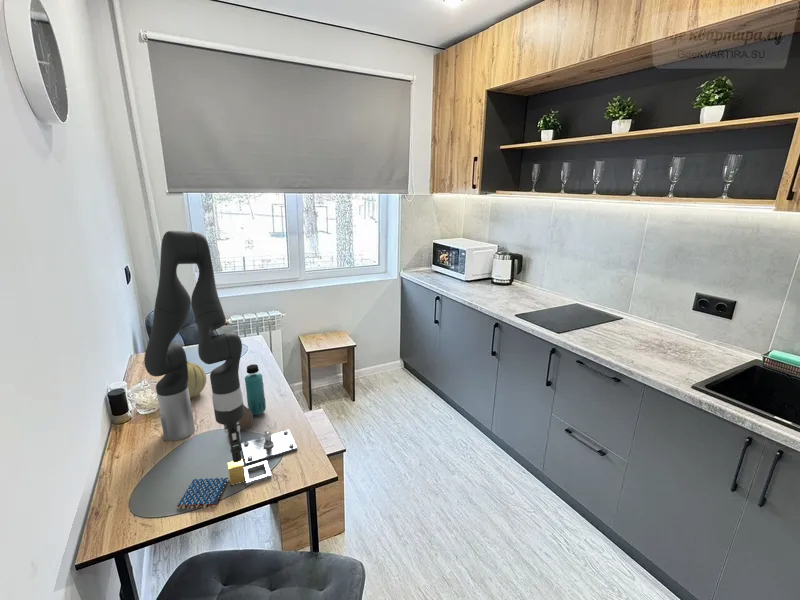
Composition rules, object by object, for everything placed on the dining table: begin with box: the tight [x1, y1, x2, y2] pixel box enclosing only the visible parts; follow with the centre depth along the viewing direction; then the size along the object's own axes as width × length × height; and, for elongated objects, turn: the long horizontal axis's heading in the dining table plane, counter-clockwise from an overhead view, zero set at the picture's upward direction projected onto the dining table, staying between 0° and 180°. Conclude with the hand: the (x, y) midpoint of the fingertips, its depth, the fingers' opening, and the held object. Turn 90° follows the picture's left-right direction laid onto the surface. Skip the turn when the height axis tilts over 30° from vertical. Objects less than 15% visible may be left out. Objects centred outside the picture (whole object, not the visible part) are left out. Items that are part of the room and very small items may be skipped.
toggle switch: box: [240, 429, 298, 466], centre depth 127 cm, size 16×11×6 cm
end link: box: [227, 459, 272, 486], centre depth 114 cm, size 11×7×6 cm, turn 119°
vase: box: [239, 405, 254, 432], centre depth 137 cm, size 7×7×9 cm
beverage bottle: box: [244, 364, 267, 415], centre depth 144 cm, size 6×7×20 cm
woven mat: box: [176, 476, 230, 510], centre depth 108 cm, size 10×11×2 cm
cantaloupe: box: [187, 360, 207, 399], centre depth 156 cm, size 15×15×15 cm
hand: (235, 452), depth 110 cm, fingers open, 8 cm apart
